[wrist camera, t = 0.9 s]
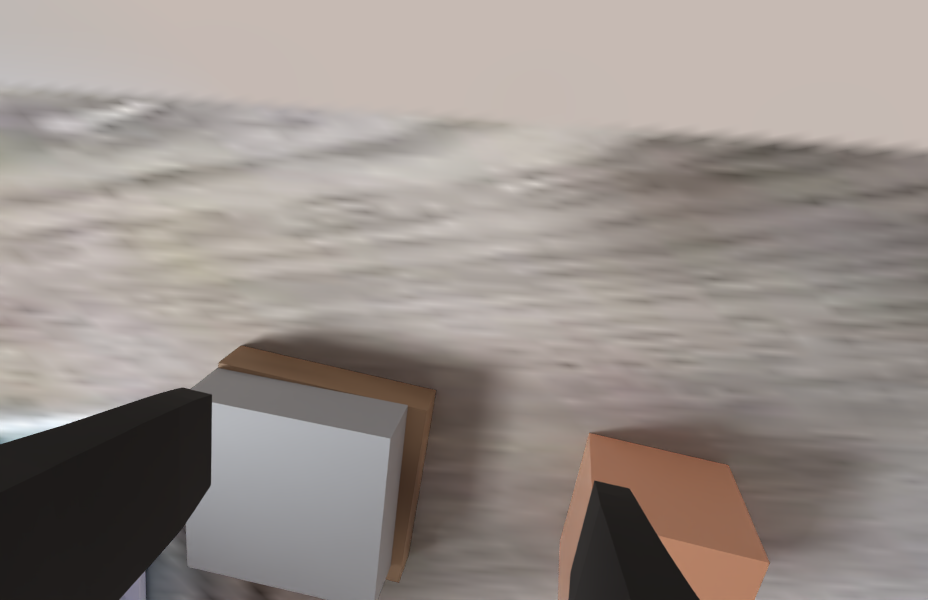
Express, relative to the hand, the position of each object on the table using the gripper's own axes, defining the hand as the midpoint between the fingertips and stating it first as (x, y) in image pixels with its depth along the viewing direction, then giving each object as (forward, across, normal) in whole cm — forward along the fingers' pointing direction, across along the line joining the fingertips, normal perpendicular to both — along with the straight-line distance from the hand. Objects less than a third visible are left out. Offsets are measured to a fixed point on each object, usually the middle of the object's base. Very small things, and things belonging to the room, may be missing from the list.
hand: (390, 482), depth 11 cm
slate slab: (+8, +4, +6) cm, 11 cm away
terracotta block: (+9, -7, +6) cm, 13 cm away
